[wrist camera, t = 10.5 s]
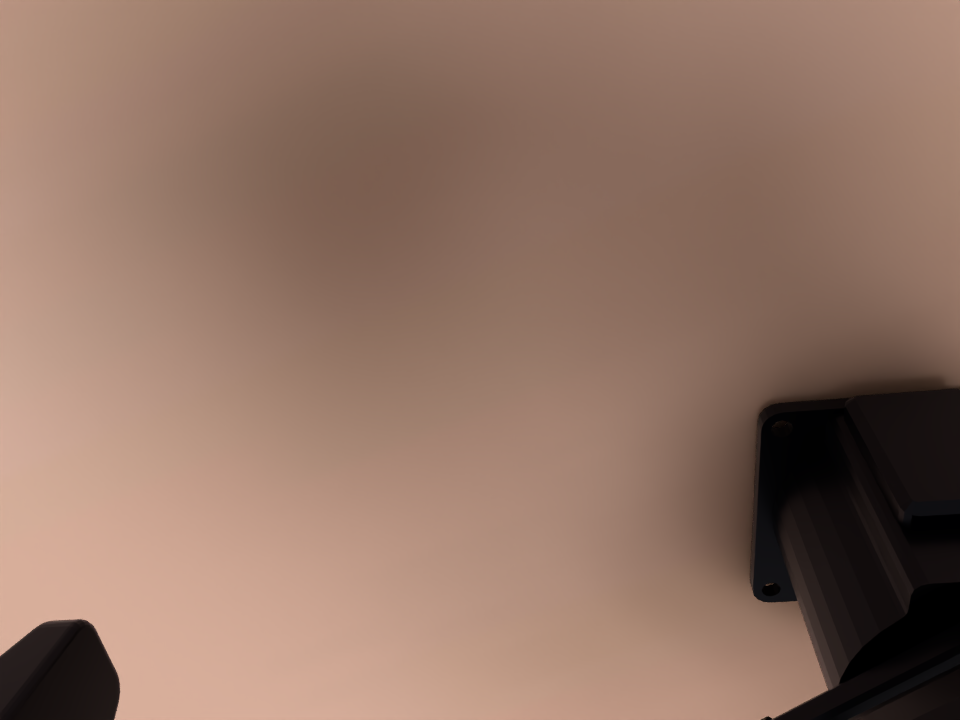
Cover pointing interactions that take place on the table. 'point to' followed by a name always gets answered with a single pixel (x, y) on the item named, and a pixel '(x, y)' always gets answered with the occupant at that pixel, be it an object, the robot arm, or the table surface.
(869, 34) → the table surface
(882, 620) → the robot arm
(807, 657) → the table surface
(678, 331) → the table surface
